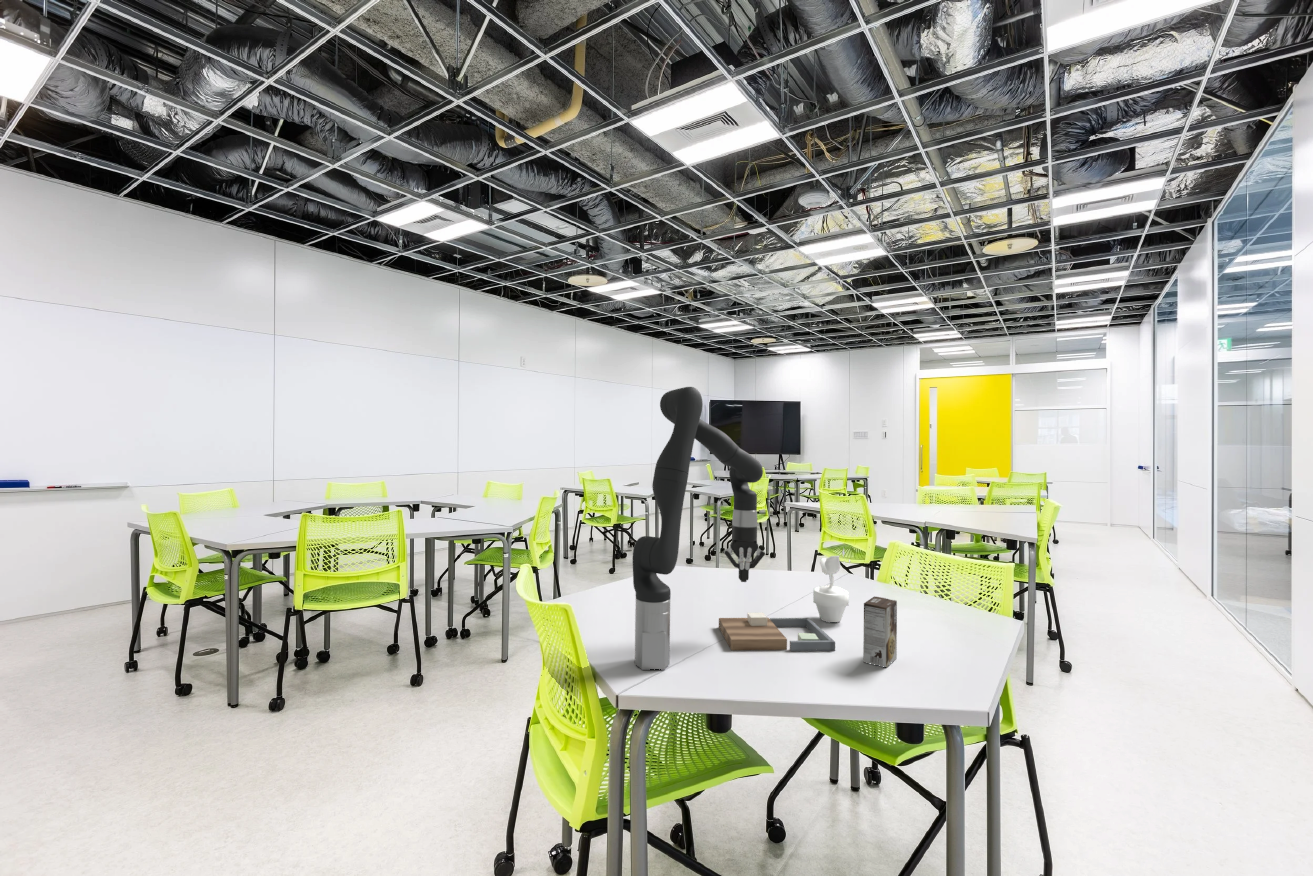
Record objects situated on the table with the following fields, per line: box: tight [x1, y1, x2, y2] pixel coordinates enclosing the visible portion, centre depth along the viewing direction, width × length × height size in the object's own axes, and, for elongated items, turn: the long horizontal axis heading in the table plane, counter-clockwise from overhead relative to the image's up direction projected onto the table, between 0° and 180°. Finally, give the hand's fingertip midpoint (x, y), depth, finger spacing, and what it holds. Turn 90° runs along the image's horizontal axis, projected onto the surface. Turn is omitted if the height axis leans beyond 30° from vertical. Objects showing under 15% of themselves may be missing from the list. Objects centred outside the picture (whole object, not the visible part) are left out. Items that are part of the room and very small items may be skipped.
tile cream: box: [746, 612, 768, 626], centre depth 176 cm, size 5×5×2 cm
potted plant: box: [812, 547, 852, 623], centre depth 190 cm, size 13×12×25 cm
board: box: [718, 617, 788, 651], centre depth 171 cm, size 20×16×3 cm
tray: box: [769, 617, 836, 652], centre depth 172 cm, size 22×13×2 cm, turn 4°
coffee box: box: [862, 596, 898, 668], centre depth 154 cm, size 9×6×16 cm
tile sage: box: [797, 632, 819, 641], centre depth 167 cm, size 5×5×2 cm
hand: (743, 581), depth 173 cm, fingers closed
